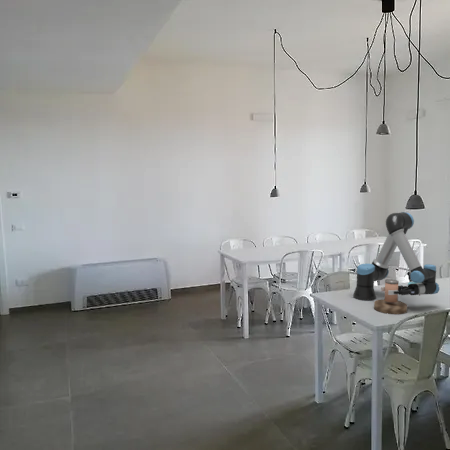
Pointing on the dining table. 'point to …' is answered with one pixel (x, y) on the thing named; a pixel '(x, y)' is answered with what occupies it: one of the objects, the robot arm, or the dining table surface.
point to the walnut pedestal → (390, 307)
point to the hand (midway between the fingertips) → (384, 291)
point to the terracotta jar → (391, 285)
